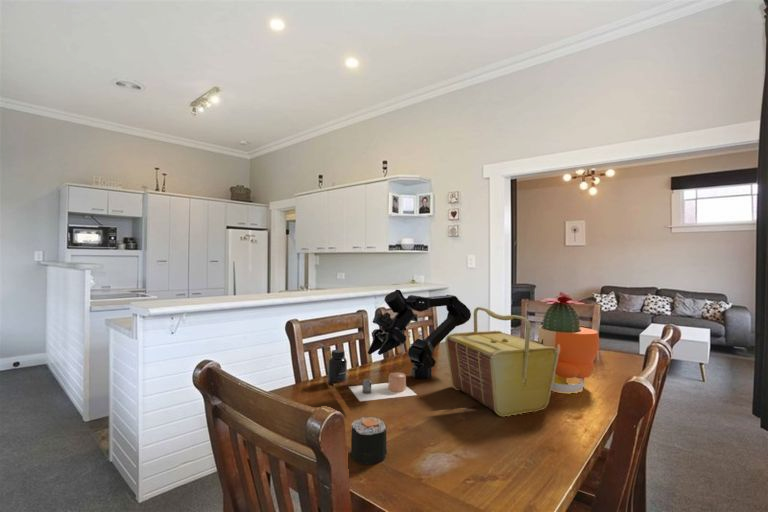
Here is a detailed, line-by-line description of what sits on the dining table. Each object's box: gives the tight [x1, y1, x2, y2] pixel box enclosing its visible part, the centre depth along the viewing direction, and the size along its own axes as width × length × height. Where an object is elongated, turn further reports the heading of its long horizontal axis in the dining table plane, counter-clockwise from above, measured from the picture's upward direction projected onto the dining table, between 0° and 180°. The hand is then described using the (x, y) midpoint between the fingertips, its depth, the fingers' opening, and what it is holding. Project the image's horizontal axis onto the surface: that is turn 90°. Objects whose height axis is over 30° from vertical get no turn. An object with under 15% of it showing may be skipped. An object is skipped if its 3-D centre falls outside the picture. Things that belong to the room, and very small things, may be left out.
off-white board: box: [348, 382, 418, 402], centre depth 132 cm, size 20×14×2 cm
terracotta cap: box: [387, 371, 407, 392], centre depth 134 cm, size 6×6×5 cm
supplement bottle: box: [327, 349, 348, 387], centre depth 143 cm, size 7×7×12 cm
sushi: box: [350, 416, 388, 466], centre depth 92 cm, size 8×8×8 cm
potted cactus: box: [537, 291, 601, 392], centre depth 147 cm, size 22×22×35 cm
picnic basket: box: [445, 306, 558, 418], centre depth 130 cm, size 29×26×30 cm
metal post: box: [362, 378, 372, 394], centre depth 130 cm, size 3×3×4 cm
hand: (373, 353), depth 135 cm, fingers open, 9 cm apart
